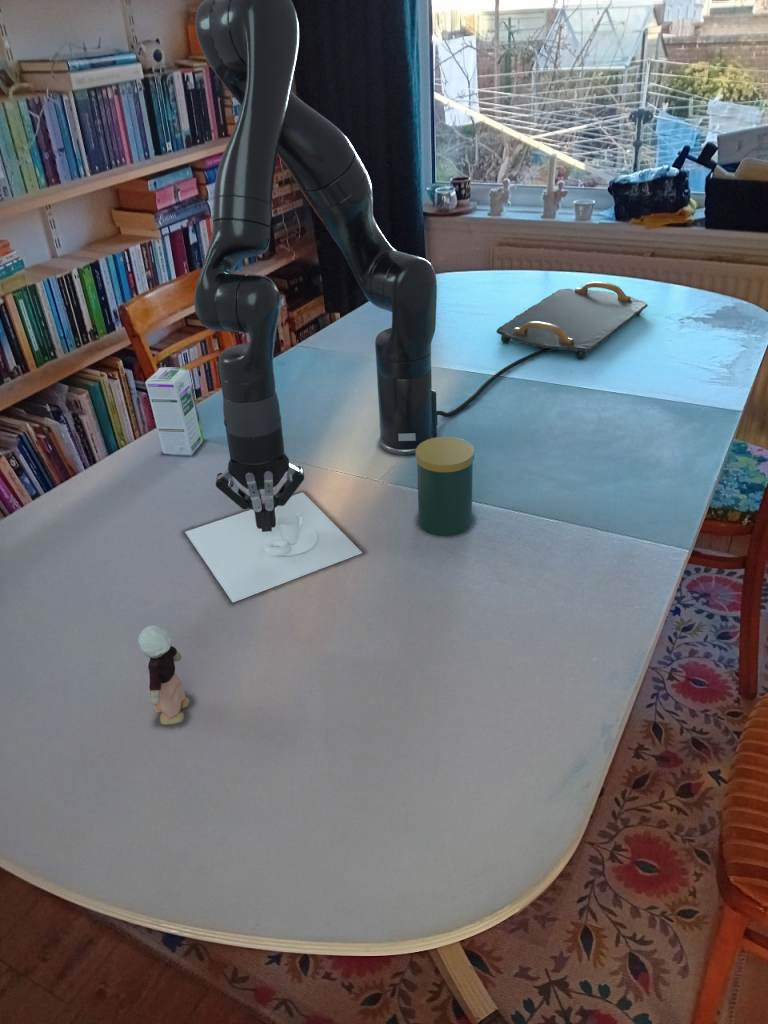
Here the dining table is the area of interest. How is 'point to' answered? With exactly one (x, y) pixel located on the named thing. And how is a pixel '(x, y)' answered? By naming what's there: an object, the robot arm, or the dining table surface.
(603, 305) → the serving tray
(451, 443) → the tea tin
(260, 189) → the robot arm
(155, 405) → the syrup box
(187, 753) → the dining table surface
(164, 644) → the grandmother figurine
